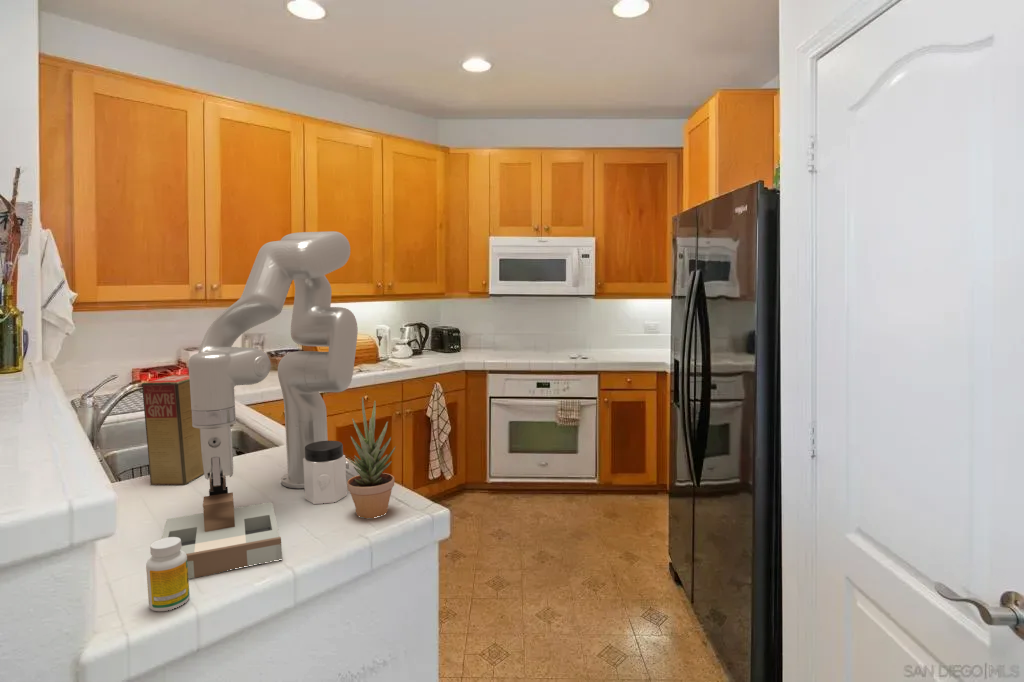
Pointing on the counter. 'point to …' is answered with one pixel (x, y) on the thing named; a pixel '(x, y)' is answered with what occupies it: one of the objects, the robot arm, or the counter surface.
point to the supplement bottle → (167, 575)
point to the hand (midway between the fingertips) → (219, 508)
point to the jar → (324, 472)
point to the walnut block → (218, 512)
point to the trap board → (227, 540)
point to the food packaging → (171, 432)
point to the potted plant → (370, 472)
